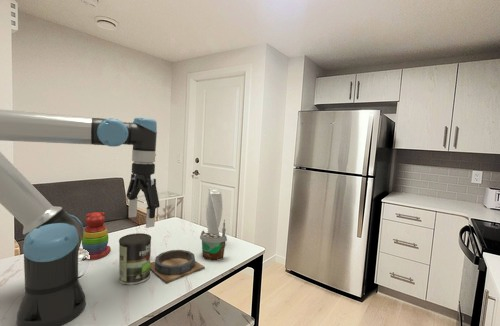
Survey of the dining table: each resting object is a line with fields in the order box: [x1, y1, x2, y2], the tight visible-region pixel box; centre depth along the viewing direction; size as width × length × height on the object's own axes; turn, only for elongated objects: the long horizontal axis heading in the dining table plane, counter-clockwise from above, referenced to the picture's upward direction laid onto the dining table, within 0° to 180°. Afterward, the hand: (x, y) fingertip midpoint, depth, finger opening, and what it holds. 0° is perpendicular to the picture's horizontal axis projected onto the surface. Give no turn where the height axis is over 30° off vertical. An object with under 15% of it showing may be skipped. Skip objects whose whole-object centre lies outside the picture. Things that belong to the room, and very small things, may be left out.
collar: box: [154, 249, 196, 275], centre depth 100 cm, size 14×14×3 cm
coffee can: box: [118, 232, 152, 286], centre depth 92 cm, size 10×10×14 cm
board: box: [150, 258, 206, 284], centre depth 101 cm, size 16×16×1 cm
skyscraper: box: [205, 187, 226, 237], centre depth 121 cm, size 8×8×28 cm
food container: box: [199, 230, 228, 262], centre depth 110 cm, size 12×6×10 cm, turn 65°
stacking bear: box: [81, 211, 112, 261], centre depth 107 cm, size 11×10×18 cm
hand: (140, 221), depth 94 cm, fingers open, 13 cm apart
